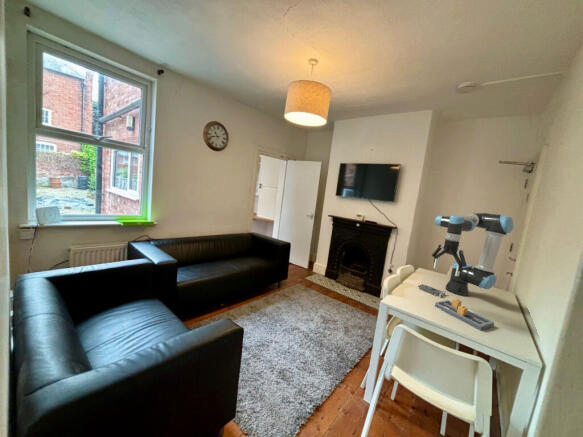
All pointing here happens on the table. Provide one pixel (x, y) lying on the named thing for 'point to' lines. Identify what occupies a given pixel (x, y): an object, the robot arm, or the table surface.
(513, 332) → the table surface
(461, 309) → the tab
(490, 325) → the switch bank
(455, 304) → the tab
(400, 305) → the table surface
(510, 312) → the table surface
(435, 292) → the graphics card
